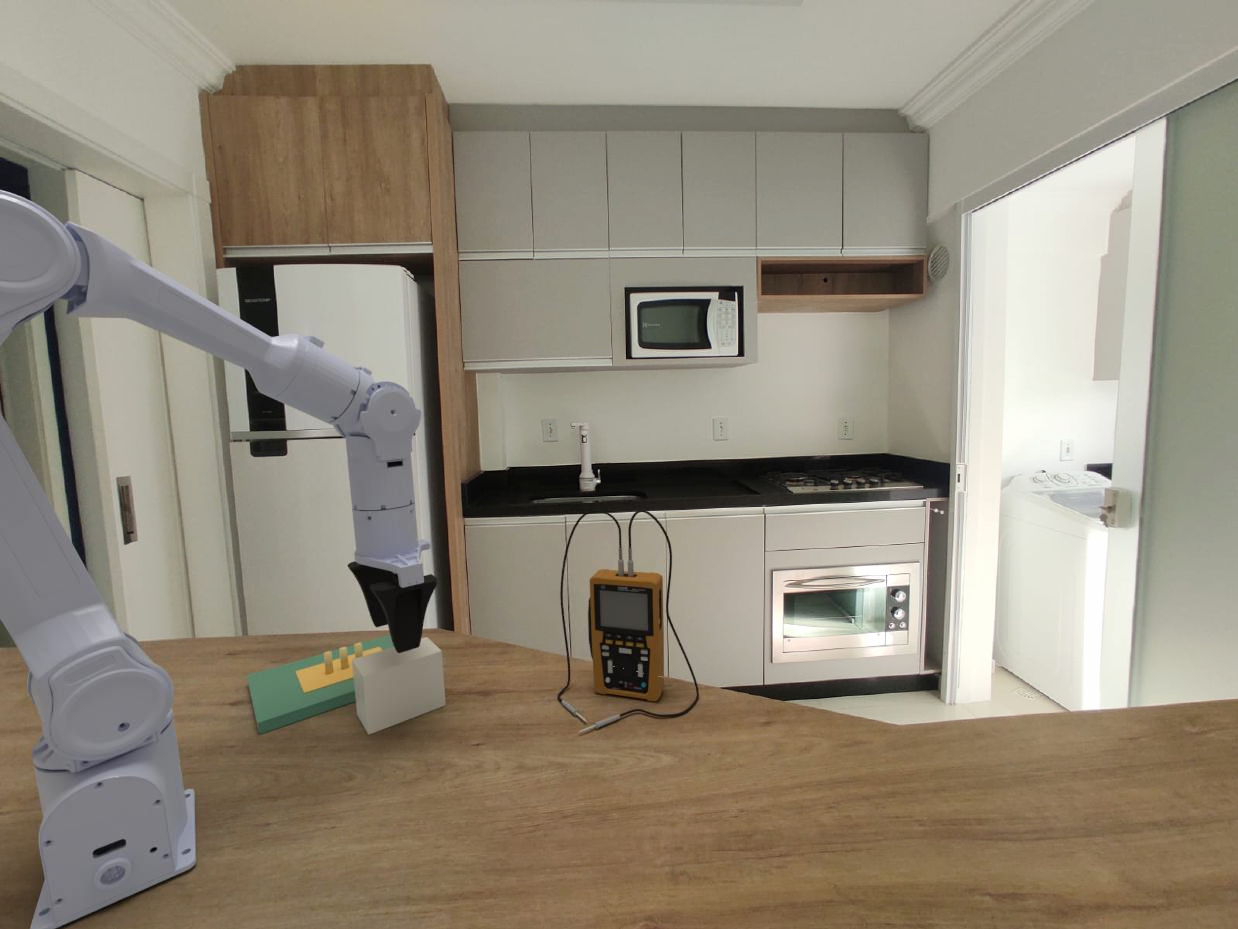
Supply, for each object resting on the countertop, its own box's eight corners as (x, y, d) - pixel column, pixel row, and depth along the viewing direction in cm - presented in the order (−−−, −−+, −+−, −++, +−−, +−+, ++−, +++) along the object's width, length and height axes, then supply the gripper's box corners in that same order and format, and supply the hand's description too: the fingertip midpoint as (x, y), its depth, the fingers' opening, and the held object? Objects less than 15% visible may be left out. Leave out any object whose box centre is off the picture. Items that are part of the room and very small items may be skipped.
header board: (441, 671, 64) (438, 642, 63) (259, 734, 53) (254, 699, 52) (408, 638, 73) (406, 611, 73) (248, 685, 62) (244, 654, 62)
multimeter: (532, 729, 52) (521, 527, 50) (571, 677, 62) (564, 505, 59) (682, 754, 48) (679, 535, 45) (700, 694, 57) (698, 509, 55)
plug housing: (445, 705, 57) (441, 651, 56) (368, 735, 52) (362, 676, 51) (430, 688, 60) (426, 637, 59) (357, 714, 56) (351, 659, 55)
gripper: (451, 509, 50) (461, 648, 52) (403, 490, 62) (412, 605, 63) (370, 522, 46) (384, 673, 48) (334, 499, 57) (346, 622, 59)
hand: (395, 635), depth 55 cm, fingers open, 7 cm apart
